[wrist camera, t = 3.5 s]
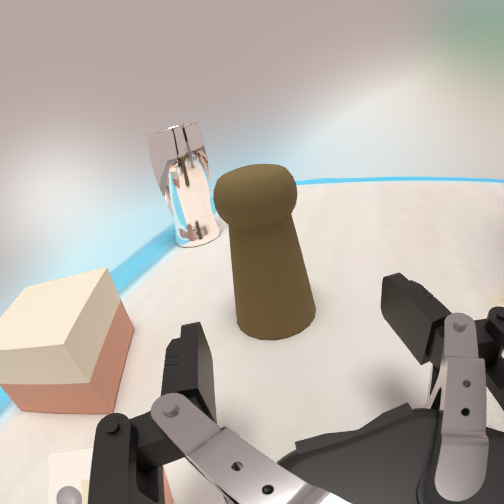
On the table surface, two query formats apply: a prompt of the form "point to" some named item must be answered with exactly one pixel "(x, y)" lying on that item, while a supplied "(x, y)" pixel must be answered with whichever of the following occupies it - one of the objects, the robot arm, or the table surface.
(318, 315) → the table surface
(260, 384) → the table surface
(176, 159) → the beer glass
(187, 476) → the page
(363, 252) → the table surface
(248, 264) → the cork
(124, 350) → the brick base
